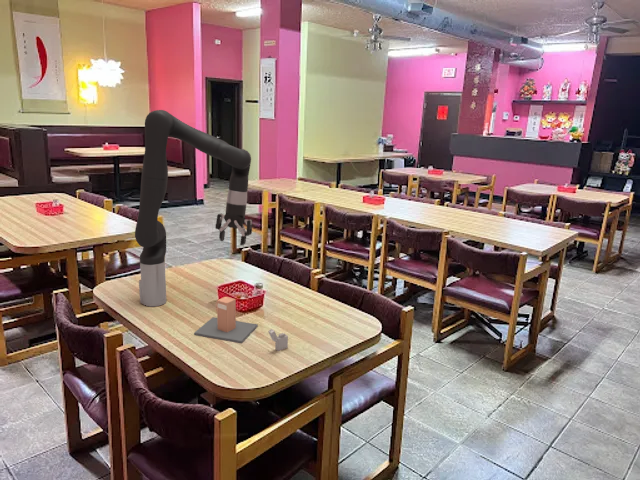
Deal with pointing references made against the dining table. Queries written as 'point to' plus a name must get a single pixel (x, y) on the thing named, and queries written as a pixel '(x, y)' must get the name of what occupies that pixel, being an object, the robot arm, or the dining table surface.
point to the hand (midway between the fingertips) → (232, 242)
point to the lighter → (279, 340)
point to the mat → (234, 335)
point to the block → (226, 314)
